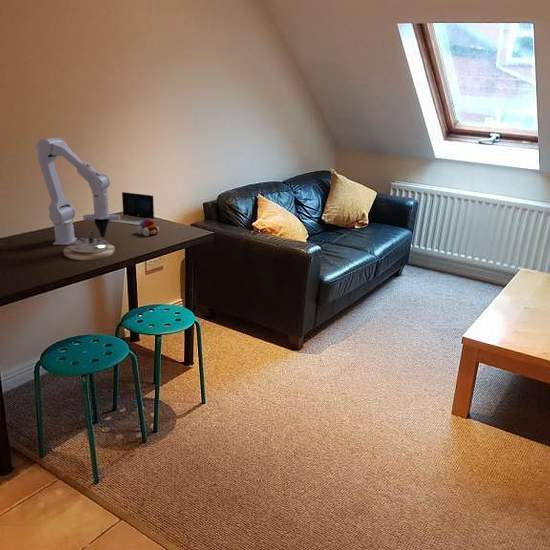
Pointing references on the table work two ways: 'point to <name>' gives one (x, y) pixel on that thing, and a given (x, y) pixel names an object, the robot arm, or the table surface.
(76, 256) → the base plate
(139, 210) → the laptop
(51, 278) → the table surface
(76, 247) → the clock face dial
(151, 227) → the red white round cluster
